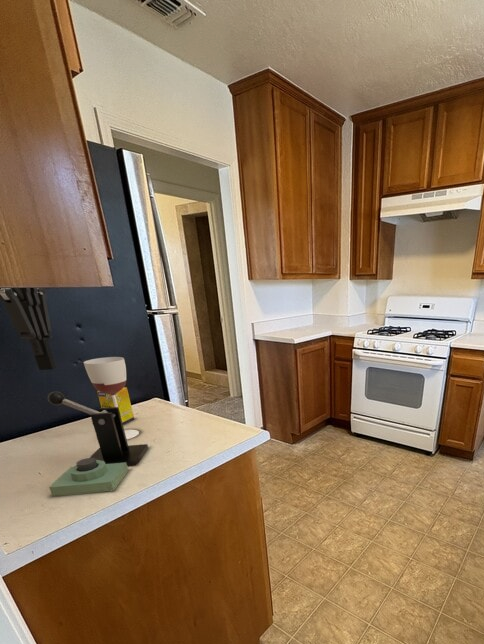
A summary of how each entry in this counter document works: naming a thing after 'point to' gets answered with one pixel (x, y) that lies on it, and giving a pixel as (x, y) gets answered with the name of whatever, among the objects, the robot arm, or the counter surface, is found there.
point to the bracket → (114, 439)
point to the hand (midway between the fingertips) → (47, 368)
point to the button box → (89, 479)
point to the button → (86, 464)
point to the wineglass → (109, 379)
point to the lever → (70, 403)
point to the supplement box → (122, 403)
